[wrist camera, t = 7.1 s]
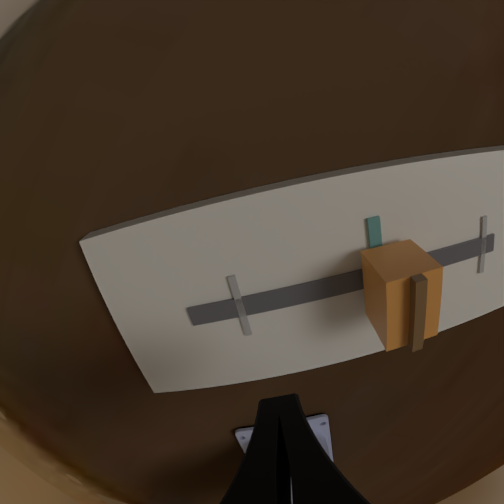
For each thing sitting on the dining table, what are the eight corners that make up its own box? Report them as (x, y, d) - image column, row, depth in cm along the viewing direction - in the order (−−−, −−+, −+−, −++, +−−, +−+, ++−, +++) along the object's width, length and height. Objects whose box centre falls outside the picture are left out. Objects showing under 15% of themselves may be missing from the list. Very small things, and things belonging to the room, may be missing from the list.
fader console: (498, 294, 20) (510, 304, 19) (158, 379, 22) (153, 395, 21) (506, 145, 16) (522, 148, 14) (89, 232, 18) (77, 242, 16)
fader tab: (410, 300, 18) (442, 341, 14) (365, 312, 18) (390, 359, 14) (410, 238, 16) (449, 272, 12) (360, 251, 16) (391, 289, 12)
